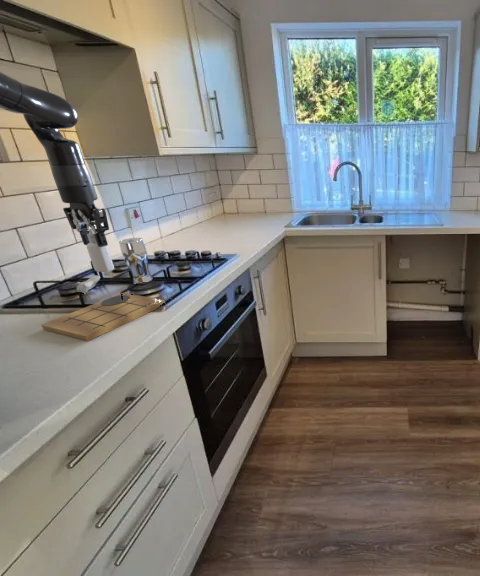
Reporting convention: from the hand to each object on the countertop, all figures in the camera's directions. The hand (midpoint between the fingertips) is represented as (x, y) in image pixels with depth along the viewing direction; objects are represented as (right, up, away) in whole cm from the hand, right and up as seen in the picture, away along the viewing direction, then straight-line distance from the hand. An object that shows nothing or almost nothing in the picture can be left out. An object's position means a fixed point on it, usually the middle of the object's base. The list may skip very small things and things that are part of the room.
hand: (96, 245), depth 101 cm
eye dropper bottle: (0, -7, +3) cm, 8 cm away
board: (+3, -20, +1) cm, 20 cm away
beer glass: (-3, -10, +25) cm, 27 cm away
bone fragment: (-18, -12, +20) cm, 30 cm away
